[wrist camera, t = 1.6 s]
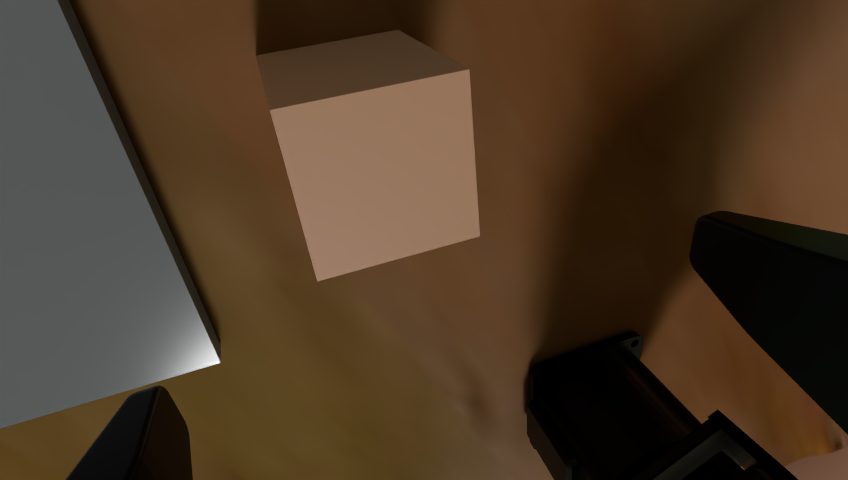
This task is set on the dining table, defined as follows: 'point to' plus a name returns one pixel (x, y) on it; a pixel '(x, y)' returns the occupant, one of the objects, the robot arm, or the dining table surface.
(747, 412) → the dining table surface
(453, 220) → the tan rectangular block
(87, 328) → the slate board
